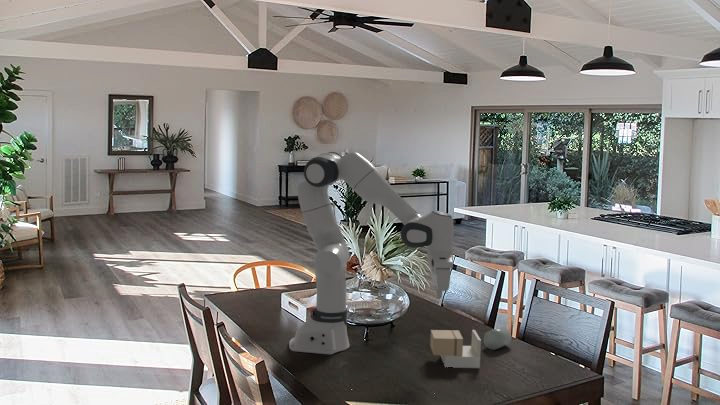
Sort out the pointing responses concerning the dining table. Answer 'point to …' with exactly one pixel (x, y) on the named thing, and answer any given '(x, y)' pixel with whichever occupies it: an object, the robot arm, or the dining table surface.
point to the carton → (446, 342)
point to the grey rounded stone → (497, 338)
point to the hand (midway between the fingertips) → (438, 296)
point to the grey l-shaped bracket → (465, 355)
